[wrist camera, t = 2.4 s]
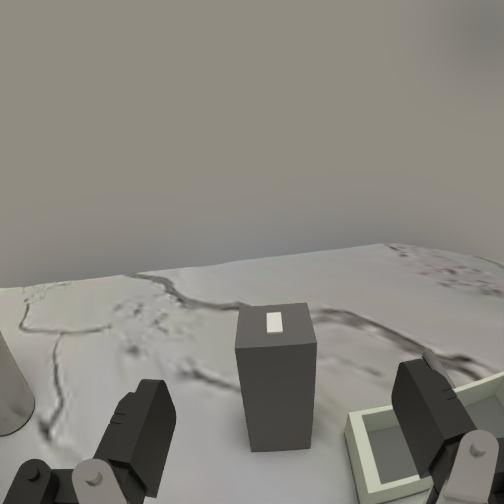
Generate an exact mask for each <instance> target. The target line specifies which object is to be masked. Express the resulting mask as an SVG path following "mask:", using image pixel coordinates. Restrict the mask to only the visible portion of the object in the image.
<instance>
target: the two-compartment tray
mask: <svg viewBox="0 0 504 504" xmlns="http://www.w3.org/2000/svg"><path fill="white" fill-rule="evenodd" d="M423 357H424V358H425V360H426V361H427V363H428V365H429V366H430V368H431V370H436V371H438V372H439V373H440V374H442V375H443V376H444V377H446V379H447V380H448V382H449V383H450V385H451V387H452V390H454V391H455V393H456V395H457V398H459V399H460V401H461V403H462V404H463V406H464V408H465V409H466V411H467V413H468V414H469V416H470V418H471V419H472V421H473V423H474V424H475V426H476V428H477V429H478V430H484V431H487V432H489V433H491V434H492V435H493V436H494V437H495V438H503V437H504V371H503V372H501V373H498V374H496V375H493V376H490V377H488V378H485V379H482V380H479V381H476V382H473V383H470V384H467V385H464V386H461V387H458V388H456V387H455V385H454V384H453V382H452V381H451V379H450V378H449V376H448V374H447V373H446V371H445V370H444V368H443V367H442V365H441V364H440V362H439V361H438V359H437V358H436V356H435V355H434V353H433V352H432V350H431V349H425V350H424V351H423ZM344 436H345V440H346V445H347V449H348V454H349V458H350V463H351V468H352V472H353V477H354V482H355V487H356V492H357V497H358V502H359V504H383V503H387V502H391V501H394V500H398V499H402V498H405V497H408V496H412V495H415V494H418V493H421V492H424V491H427V490H429V489H430V486H431V484H432V483H433V480H432V477H431V476H429V477H426V478H423V479H420V477H419V475H418V472H417V469H416V466H415V464H414V461H413V458H412V456H411V453H410V450H409V448H408V445H407V442H406V440H405V437H404V435H403V432H402V430H401V427H400V425H399V422H398V420H397V417H396V415H395V412H394V410H393V407H392V405H389V406H384V407H379V408H373V409H368V410H362V411H356V412H350V413H348V418H347V423H346V427H345V432H344Z"/></svg>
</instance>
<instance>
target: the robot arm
mask: <svg viewBox="0 0 504 504" xmlns="http://www.w3.org/2000/svg"><path fill="white" fill-rule="evenodd" d="M27 385H28V384H27V382H26V380H25V379H24V377H23V375H22V373H21V371H20V370H19V368H18V366H17V364H16V362H15V360H14V358H13V356H12V354H11V352H10V350H9V348H8V346H7V344H6V342H5V340H4V338H3V336H2V334H1V331H0V435H6V434H10V433H12V432H14V431H16V430H17V429H19V428H20V427H21V426H22V425H23V424H25V423H26V421H27V420H28V419H29V417H30V416H31V414H32V412H33V408H34V396H33V394H32V393H31V391H30V389H29V388H28V386H27ZM392 407H393V410H394V412H395V415H396V417H397V420H398V422H399V425H400V427H401V430H402V432H403V435H404V437H405V440H406V442H407V445H408V448H409V450H410V453H411V456H412V458H413V461H414V464H415V466H416V469H417V472H418V475H419V477H420V479H423V478H426V477H429V476H431V477H432V480H433V483H432V484H431V486H430V489H429V491H428V494H427V496H426V498H425V501H424V503H423V504H487V501H488V504H504V437H503V438H495V437H494V436H493V435H492V434H491V433H489V432H487V431H484V430H478V429H477V428H476V426H475V424H474V423H473V421H472V419H471V418H470V416H469V414H468V413H467V411H466V409H465V408H464V406H463V404H462V403H461V401H460V399H459V398H457V395H456V393H455V391H454V390H452V387H451V385H450V383H449V382H448V380H447V379H446V377H444V376H443V375H442V374H440V373H439V372H438V371H436V370H431V371H430V370H429V369H428V367H427V366H426V364H425V362H424V361H423V360H422V359H415V360H410V361H406V362H401V363H400V364H399V367H398V371H397V375H396V379H395V383H394V387H393V391H392ZM175 425H176V411H175V407H174V405H173V402H172V399H171V397H170V394H169V391H168V389H167V386H166V383H165V382H164V381H163V380H151V379H142V380H141V381H140V383H139V385H138V387H137V390H136V392H135V393H132V392H129V393H128V394H127V395H126V396H125V397H124V398H123V399H121V400H120V401H119V403H118V405H117V407H116V410H115V412H114V415H113V416H112V418H111V420H110V424H108V427H107V429H106V431H105V433H104V435H103V437H102V440H101V442H100V444H99V446H98V448H97V451H96V453H95V455H94V457H93V458H92V459H87V460H84V461H82V462H81V463H79V464H78V465H77V466H76V467H75V469H51V468H50V467H49V466H48V465H47V464H46V463H45V462H44V461H42V460H39V459H31V460H28V461H26V462H25V463H23V464H22V465H21V466H20V468H19V470H18V472H17V474H16V476H15V478H14V480H13V482H12V484H11V487H10V489H9V491H8V493H7V495H6V498H5V500H4V502H3V504H143V502H144V498H145V496H147V497H153V498H156V497H157V493H158V489H159V485H160V481H161V477H162V474H163V470H164V466H165V462H166V458H167V455H168V451H169V447H170V443H171V440H172V436H173V432H174V429H175Z"/></svg>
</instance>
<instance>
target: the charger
mask: <svg viewBox="0 0 504 504" xmlns="http://www.w3.org/2000/svg"><path fill="white" fill-rule="evenodd" d="M235 354H236V360H237V367H238V373H239V380H240V386H241V392H242V398H243V405H244V411H245V417H246V423H247V428H248V434H249V440H250V446H251V451H252V452H269V451H286V450H299V449H309V448H310V445H311V434H312V422H313V408H314V393H315V376H316V354H317V341H316V337H315V333H314V329H313V325H312V321H311V317H310V313H309V309H308V306H307V303H296V304H282V305H268V306H253V307H240V308H239V316H238V325H237V333H236V341H235Z"/></svg>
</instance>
